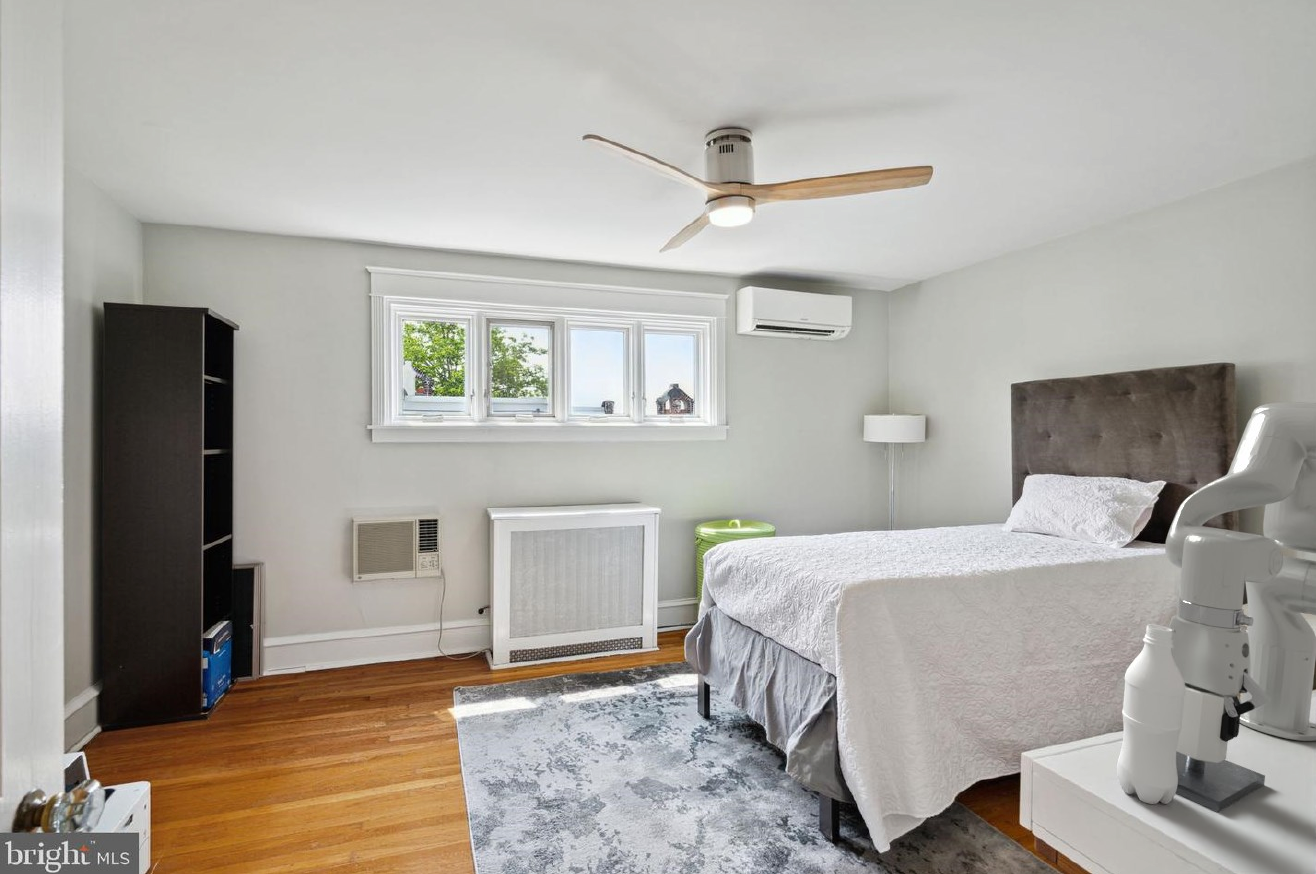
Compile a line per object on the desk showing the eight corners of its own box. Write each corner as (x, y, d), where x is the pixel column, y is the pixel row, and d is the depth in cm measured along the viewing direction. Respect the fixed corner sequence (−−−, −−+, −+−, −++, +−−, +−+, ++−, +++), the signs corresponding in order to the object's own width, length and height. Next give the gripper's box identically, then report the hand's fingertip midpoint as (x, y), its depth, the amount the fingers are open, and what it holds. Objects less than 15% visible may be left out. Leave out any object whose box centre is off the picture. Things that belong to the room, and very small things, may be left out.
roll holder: (1172, 748, 112) (1178, 683, 112) (1264, 785, 102) (1271, 714, 102) (1124, 770, 104) (1130, 700, 104) (1218, 812, 94) (1225, 735, 94)
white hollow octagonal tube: (1180, 736, 107) (1186, 676, 107) (1231, 756, 102) (1237, 692, 101) (1160, 745, 104) (1166, 682, 104) (1212, 766, 98) (1218, 700, 98)
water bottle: (1186, 813, 93) (1202, 638, 92) (1129, 804, 95) (1144, 632, 94) (1159, 785, 100) (1173, 623, 99) (1106, 777, 102) (1120, 617, 101)
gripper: (1292, 629, 96) (1280, 749, 97) (1155, 597, 111) (1146, 701, 112) (1272, 636, 93) (1259, 761, 93) (1133, 601, 108) (1123, 709, 108)
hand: (1197, 727), depth 103 cm, fingers closed on white hollow octagonal tube, 6 cm apart
